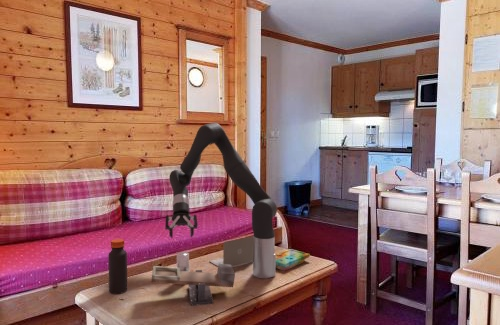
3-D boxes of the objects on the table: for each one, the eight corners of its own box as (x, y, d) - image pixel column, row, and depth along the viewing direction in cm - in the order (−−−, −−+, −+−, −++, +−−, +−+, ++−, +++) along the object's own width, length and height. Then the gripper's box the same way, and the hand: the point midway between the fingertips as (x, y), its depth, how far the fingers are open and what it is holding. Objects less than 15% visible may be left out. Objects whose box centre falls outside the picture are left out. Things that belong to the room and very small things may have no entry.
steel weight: (188, 279, 159) (188, 251, 158) (189, 284, 154) (189, 255, 153) (176, 280, 158) (176, 252, 157) (176, 285, 153) (176, 256, 152)
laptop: (239, 255, 191) (239, 230, 190) (254, 262, 181) (255, 235, 180) (209, 262, 180) (209, 235, 179) (223, 270, 171) (223, 242, 169)
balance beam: (228, 277, 150) (230, 264, 150) (233, 287, 141) (235, 273, 140) (152, 272, 144) (154, 258, 143) (151, 282, 134) (153, 268, 134)
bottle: (114, 296, 142) (113, 244, 140) (105, 291, 146) (104, 240, 145) (130, 290, 147) (130, 240, 145) (121, 285, 151) (120, 237, 150)
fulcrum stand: (208, 286, 152) (208, 268, 151) (213, 303, 136) (213, 284, 136) (188, 287, 150) (188, 270, 150) (190, 305, 135) (190, 286, 134)
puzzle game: (265, 256, 176) (290, 247, 191) (265, 266, 176) (289, 256, 191) (285, 262, 168) (309, 252, 183) (285, 272, 169) (309, 261, 183)
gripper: (165, 201, 172) (165, 232, 161) (196, 201, 175) (198, 231, 164) (165, 210, 177) (165, 241, 167) (195, 209, 180) (197, 240, 170)
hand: (181, 236), depth 166 cm, fingers open, 8 cm apart
